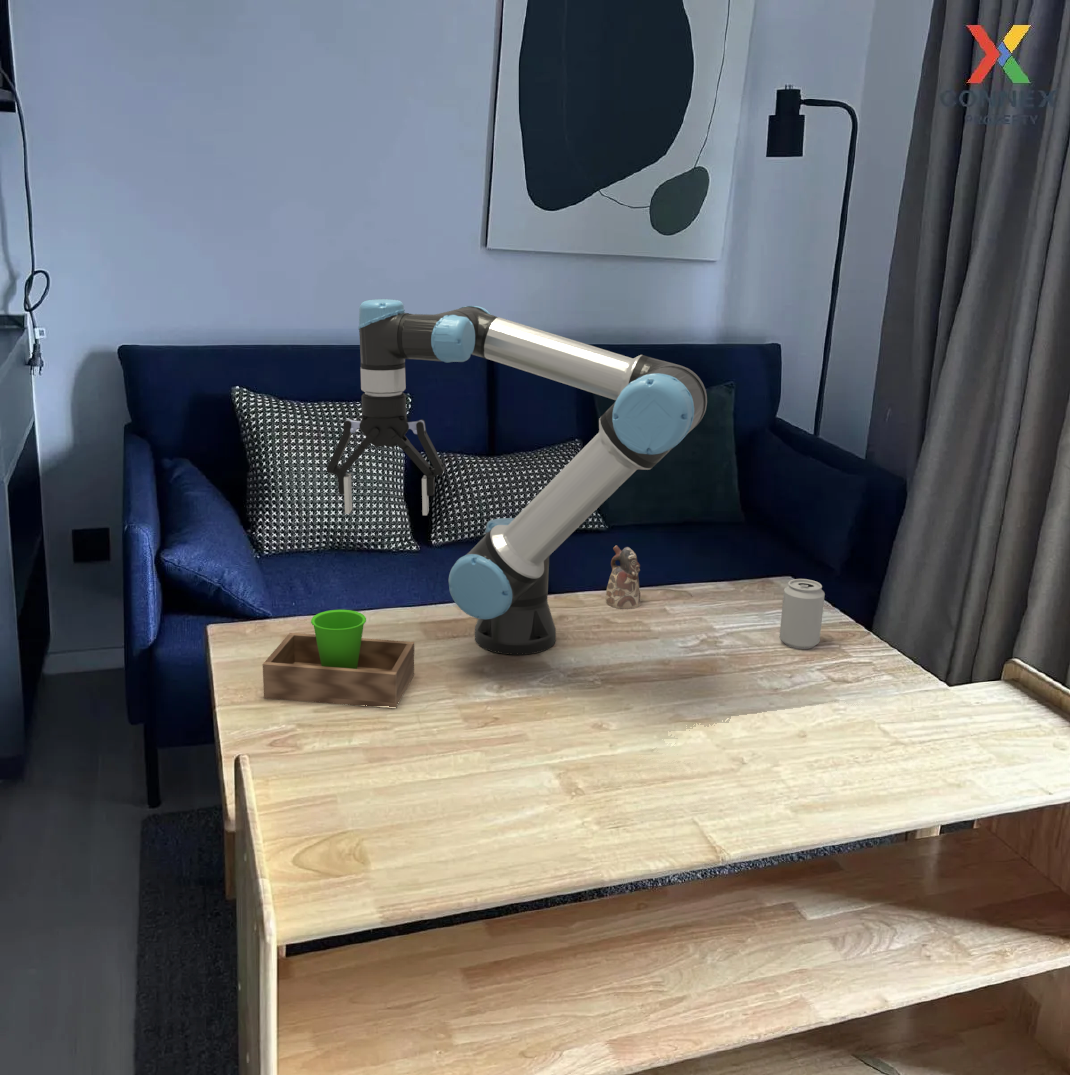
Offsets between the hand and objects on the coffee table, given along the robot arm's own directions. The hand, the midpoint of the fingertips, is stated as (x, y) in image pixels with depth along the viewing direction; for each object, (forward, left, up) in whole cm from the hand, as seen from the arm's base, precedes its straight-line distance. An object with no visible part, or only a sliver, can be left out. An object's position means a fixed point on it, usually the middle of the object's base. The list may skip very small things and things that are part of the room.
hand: (387, 512), depth 207 cm
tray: (+4, +17, -26) cm, 31 cm away
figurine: (-41, -33, -26) cm, 59 cm away
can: (-75, -18, -26) cm, 82 cm away
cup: (+4, +17, -25) cm, 31 cm away
